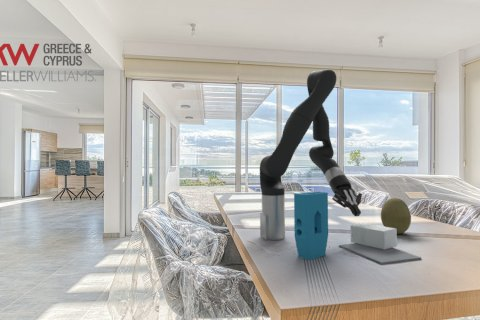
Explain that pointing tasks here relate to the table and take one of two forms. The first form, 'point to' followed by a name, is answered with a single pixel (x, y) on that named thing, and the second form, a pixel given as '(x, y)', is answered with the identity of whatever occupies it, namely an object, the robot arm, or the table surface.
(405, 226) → the fruit
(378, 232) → the small box
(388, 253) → the mat
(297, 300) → the table surface
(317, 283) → the table surface
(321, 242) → the block
